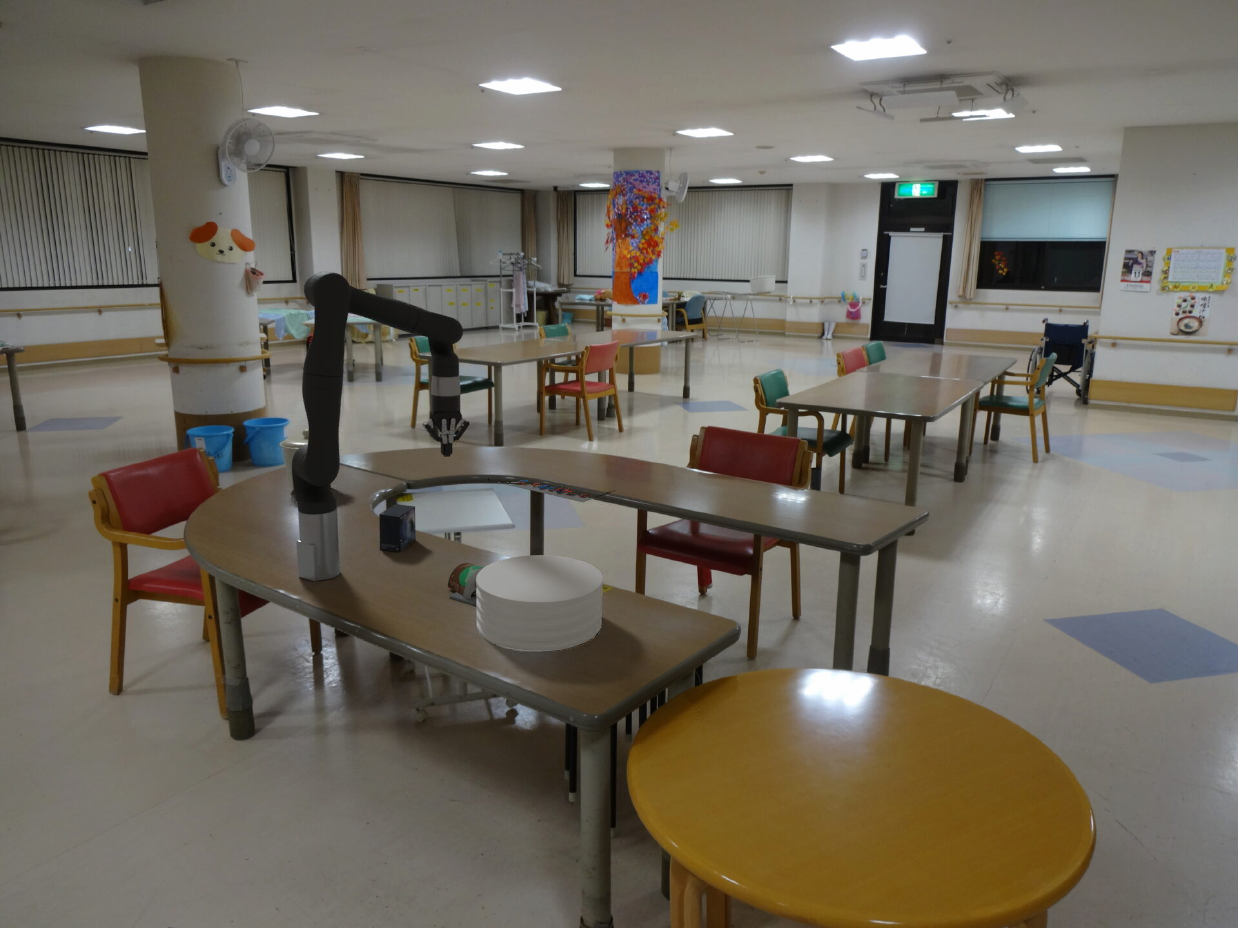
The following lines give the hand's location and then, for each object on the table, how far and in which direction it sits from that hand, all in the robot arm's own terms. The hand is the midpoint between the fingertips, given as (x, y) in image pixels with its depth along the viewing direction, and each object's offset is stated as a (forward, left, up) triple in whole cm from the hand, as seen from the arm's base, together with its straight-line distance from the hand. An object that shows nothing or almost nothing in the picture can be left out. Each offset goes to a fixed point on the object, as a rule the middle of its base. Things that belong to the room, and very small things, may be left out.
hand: (446, 456), depth 231 cm
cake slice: (-17, -19, -23) cm, 35 cm away
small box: (-5, +14, -27) cm, 31 cm away
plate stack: (-25, -49, -27) cm, 61 cm away
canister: (+18, +77, -27) cm, 83 cm away
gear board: (+72, +17, -28) cm, 79 cm away
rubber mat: (-16, -28, -27) cm, 42 cm away
